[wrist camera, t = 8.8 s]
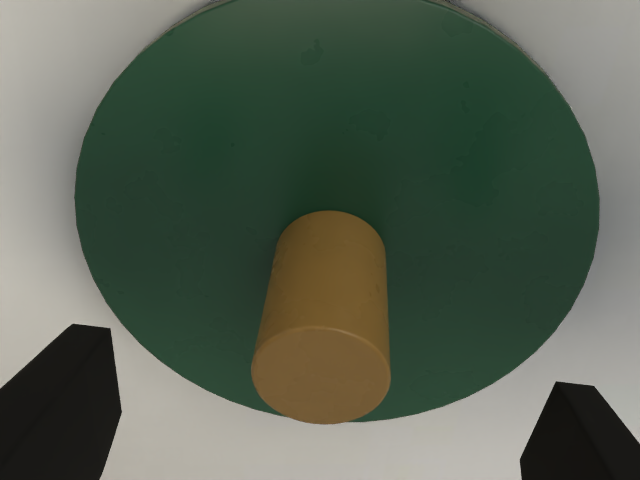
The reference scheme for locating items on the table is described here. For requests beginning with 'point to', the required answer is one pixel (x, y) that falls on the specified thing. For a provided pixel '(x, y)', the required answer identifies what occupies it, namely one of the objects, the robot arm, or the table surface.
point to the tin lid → (337, 205)
